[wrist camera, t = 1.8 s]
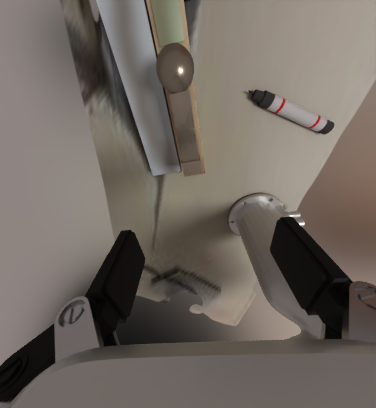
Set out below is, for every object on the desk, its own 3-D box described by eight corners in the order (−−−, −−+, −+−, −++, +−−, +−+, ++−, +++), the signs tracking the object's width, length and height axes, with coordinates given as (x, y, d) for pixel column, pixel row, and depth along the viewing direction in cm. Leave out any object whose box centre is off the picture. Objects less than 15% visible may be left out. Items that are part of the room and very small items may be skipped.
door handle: (156, 56, 18) (150, 47, 15) (190, 48, 18) (190, 36, 15) (180, 168, 25) (179, 177, 22) (204, 164, 25) (206, 172, 22)
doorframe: (191, -119, 14) (192, -272, 8) (214, 165, 29) (221, 180, 24) (78, -78, 15) (11, -188, 10) (157, 175, 31) (149, 192, 25)
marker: (327, 121, 26) (337, 122, 24) (318, 133, 27) (327, 135, 25) (249, 83, 23) (253, 82, 21) (242, 98, 24) (246, 98, 22)
